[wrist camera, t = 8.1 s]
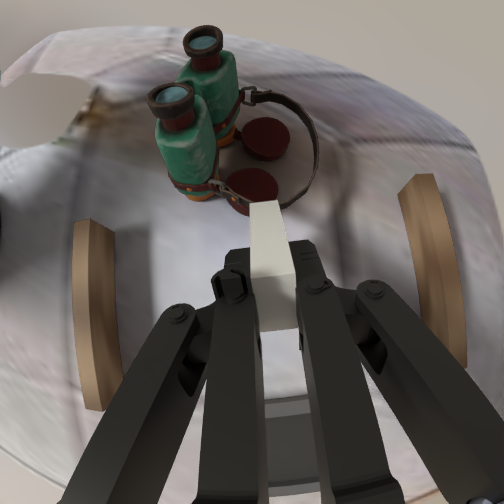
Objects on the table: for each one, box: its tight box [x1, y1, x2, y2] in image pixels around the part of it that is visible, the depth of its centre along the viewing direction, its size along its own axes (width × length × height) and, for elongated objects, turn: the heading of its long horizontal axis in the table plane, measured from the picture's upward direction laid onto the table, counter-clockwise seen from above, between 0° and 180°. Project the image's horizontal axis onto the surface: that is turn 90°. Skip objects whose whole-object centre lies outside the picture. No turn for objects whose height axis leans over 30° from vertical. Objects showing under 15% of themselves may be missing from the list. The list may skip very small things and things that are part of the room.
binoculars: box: [146, 25, 319, 217], centre depth 16 cm, size 9×11×10 cm
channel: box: [72, 174, 467, 412], centre depth 17 cm, size 13×25×4 cm, turn 96°
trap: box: [264, 395, 320, 497], centre depth 16 cm, size 8×8×1 cm
